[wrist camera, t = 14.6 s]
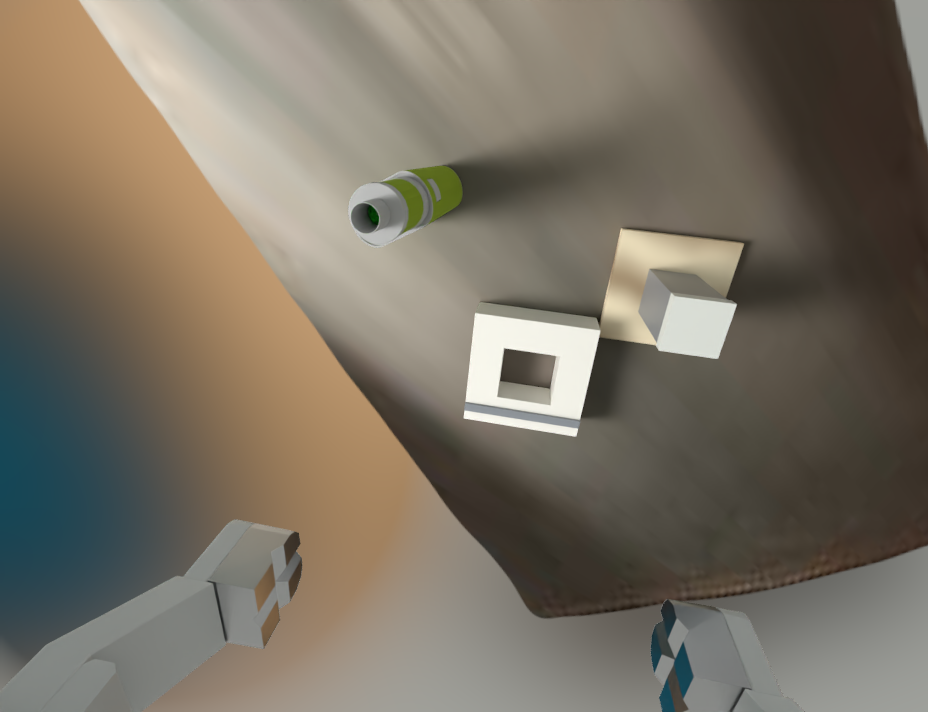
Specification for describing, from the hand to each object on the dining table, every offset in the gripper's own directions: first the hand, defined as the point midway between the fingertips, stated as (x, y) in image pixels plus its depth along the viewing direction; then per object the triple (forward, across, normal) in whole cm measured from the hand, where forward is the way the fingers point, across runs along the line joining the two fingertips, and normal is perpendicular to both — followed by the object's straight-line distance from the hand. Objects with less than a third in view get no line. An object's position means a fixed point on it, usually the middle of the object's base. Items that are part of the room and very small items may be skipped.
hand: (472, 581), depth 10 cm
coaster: (+36, -13, +2) cm, 38 cm away
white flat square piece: (+36, -2, +11) cm, 38 cm away
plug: (+35, -13, +2) cm, 38 cm away
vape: (+36, +9, -4) cm, 38 cm away
